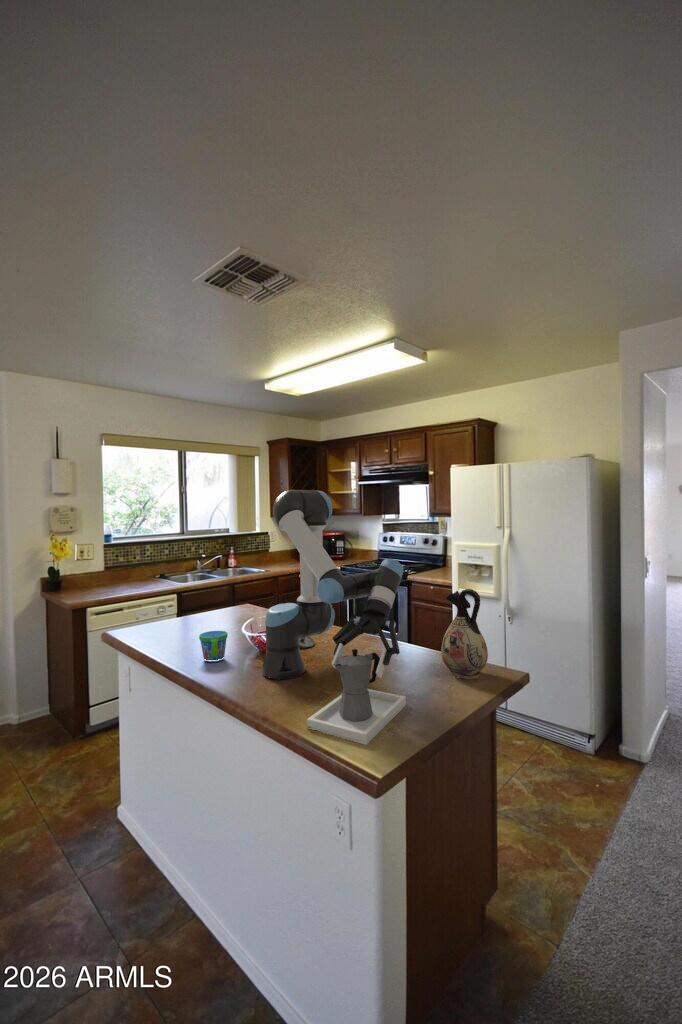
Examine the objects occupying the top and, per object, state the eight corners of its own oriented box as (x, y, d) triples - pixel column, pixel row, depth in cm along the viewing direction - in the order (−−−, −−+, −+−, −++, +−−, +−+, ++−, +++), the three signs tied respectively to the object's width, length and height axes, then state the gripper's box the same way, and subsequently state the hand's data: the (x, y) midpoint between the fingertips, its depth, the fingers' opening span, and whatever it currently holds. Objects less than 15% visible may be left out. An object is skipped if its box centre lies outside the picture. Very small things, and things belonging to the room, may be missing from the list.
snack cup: (201, 655, 183) (200, 629, 183) (228, 652, 185) (228, 627, 185) (198, 668, 168) (197, 640, 168) (227, 665, 170) (227, 638, 170)
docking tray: (307, 728, 120) (306, 719, 120) (353, 693, 142) (353, 685, 142) (366, 744, 111) (365, 734, 111) (406, 705, 133) (405, 696, 133)
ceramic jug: (432, 676, 155) (431, 588, 155) (455, 664, 167) (453, 582, 167) (479, 688, 144) (478, 594, 144) (500, 675, 155) (499, 587, 155)
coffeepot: (347, 727, 118) (345, 658, 118) (326, 715, 126) (325, 649, 126) (391, 711, 127) (390, 647, 127) (369, 700, 135) (368, 639, 135)
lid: (301, 640, 200) (300, 629, 200) (319, 644, 195) (319, 632, 195) (285, 647, 192) (285, 635, 192) (304, 650, 186) (304, 638, 186)
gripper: (422, 616, 133) (402, 685, 120) (347, 607, 145) (322, 669, 133) (415, 601, 128) (394, 672, 115) (338, 594, 141) (312, 656, 128)
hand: (355, 671), depth 124 cm, fingers open, 13 cm apart
